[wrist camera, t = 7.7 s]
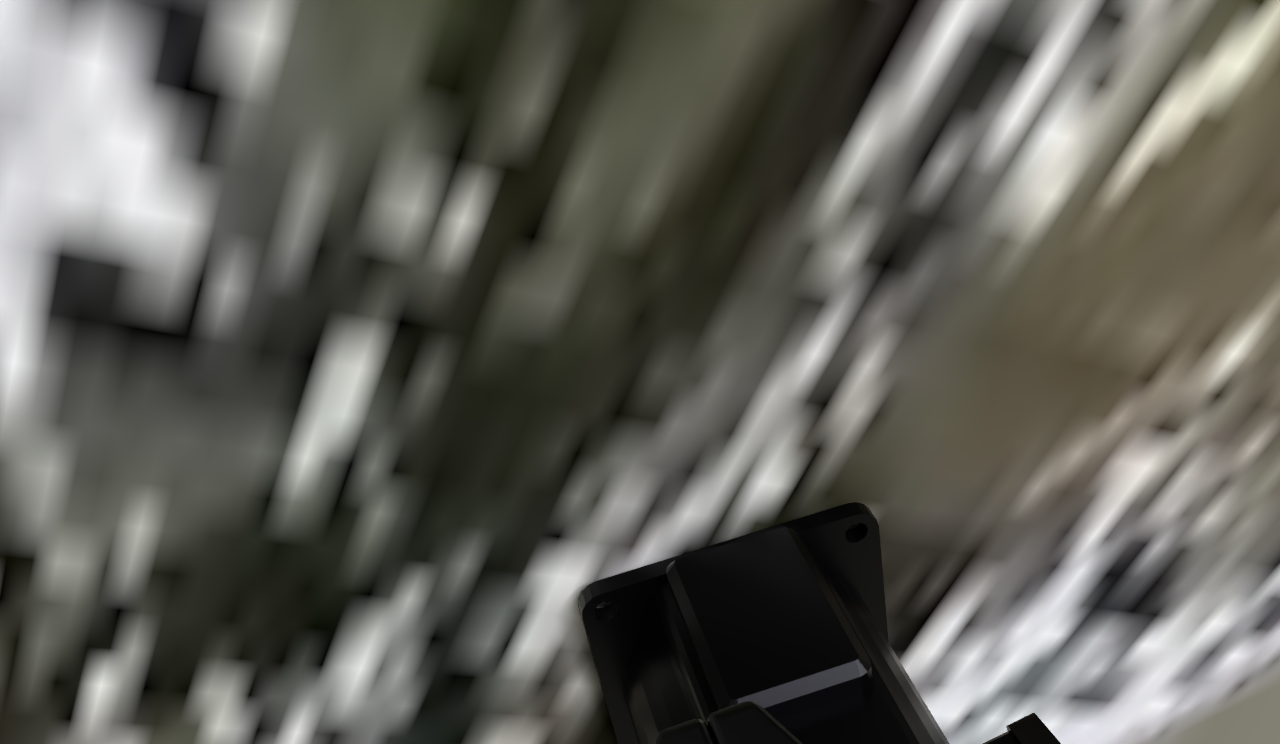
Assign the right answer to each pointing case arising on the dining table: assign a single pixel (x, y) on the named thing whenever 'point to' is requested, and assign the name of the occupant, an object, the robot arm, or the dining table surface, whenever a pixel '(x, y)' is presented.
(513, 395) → the dining table surface
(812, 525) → the robot arm
